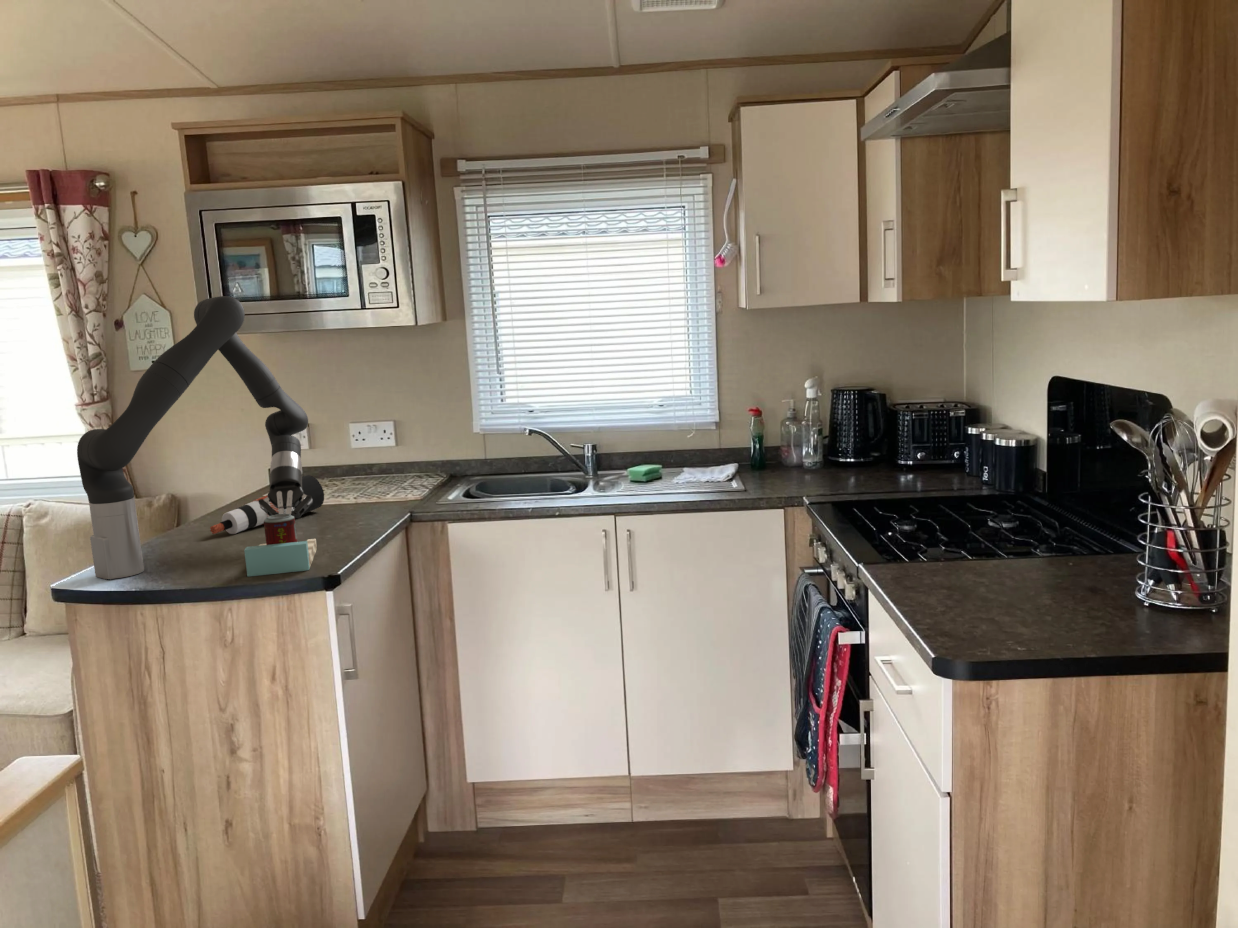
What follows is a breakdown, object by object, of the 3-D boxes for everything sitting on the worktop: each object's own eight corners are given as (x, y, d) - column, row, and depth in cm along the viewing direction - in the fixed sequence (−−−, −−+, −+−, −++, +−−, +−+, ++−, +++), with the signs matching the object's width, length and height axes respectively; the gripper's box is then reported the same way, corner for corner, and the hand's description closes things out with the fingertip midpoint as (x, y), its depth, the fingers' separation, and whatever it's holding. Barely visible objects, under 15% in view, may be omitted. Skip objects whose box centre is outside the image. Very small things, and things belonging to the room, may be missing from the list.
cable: (212, 554, 261) (194, 520, 261) (310, 513, 289) (293, 483, 289) (231, 539, 255) (212, 505, 255) (329, 500, 283) (312, 469, 283)
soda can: (294, 560, 230) (288, 511, 228) (303, 565, 224) (298, 515, 222) (265, 566, 226) (259, 516, 224) (274, 571, 220) (268, 520, 218)
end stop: (249, 573, 220) (246, 546, 219) (310, 566, 223) (307, 540, 222) (247, 576, 217) (244, 549, 216) (308, 570, 220) (306, 543, 219)
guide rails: (260, 554, 237) (259, 544, 237) (316, 548, 240) (315, 538, 240) (248, 574, 219) (247, 563, 219) (309, 567, 222) (308, 557, 221)
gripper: (255, 466, 242) (253, 525, 232) (311, 462, 245) (312, 520, 235) (260, 484, 248) (259, 543, 238) (315, 480, 251) (316, 537, 241)
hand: (285, 531), depth 236 cm, fingers closed
